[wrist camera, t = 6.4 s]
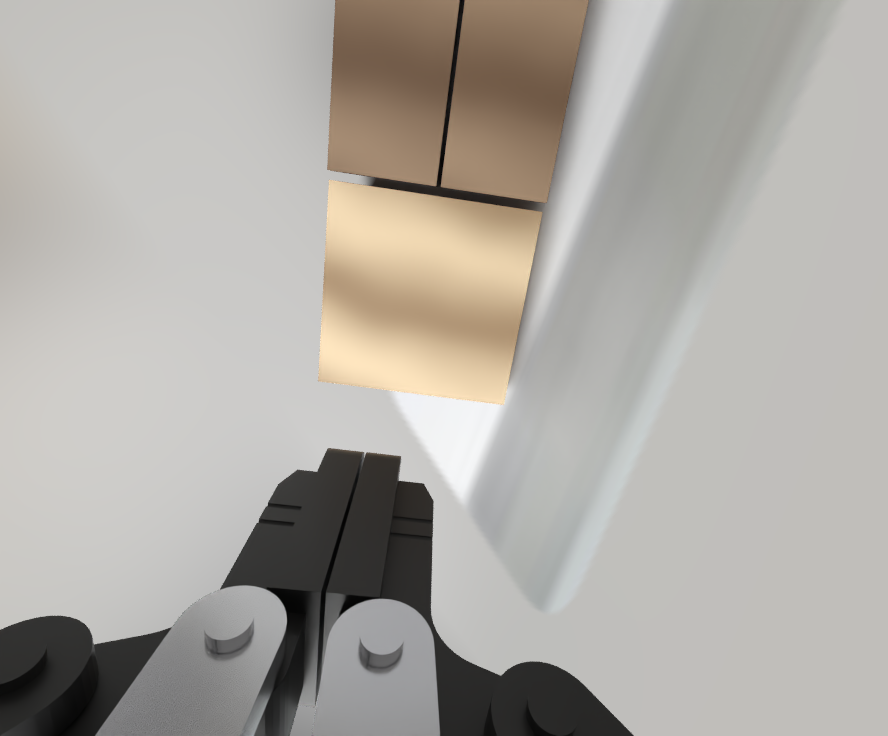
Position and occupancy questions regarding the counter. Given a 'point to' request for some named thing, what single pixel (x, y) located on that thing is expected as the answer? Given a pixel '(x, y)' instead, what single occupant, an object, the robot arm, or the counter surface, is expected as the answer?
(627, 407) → the counter surface
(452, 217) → the oak plank
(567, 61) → the brown flat square block
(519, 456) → the counter surface
